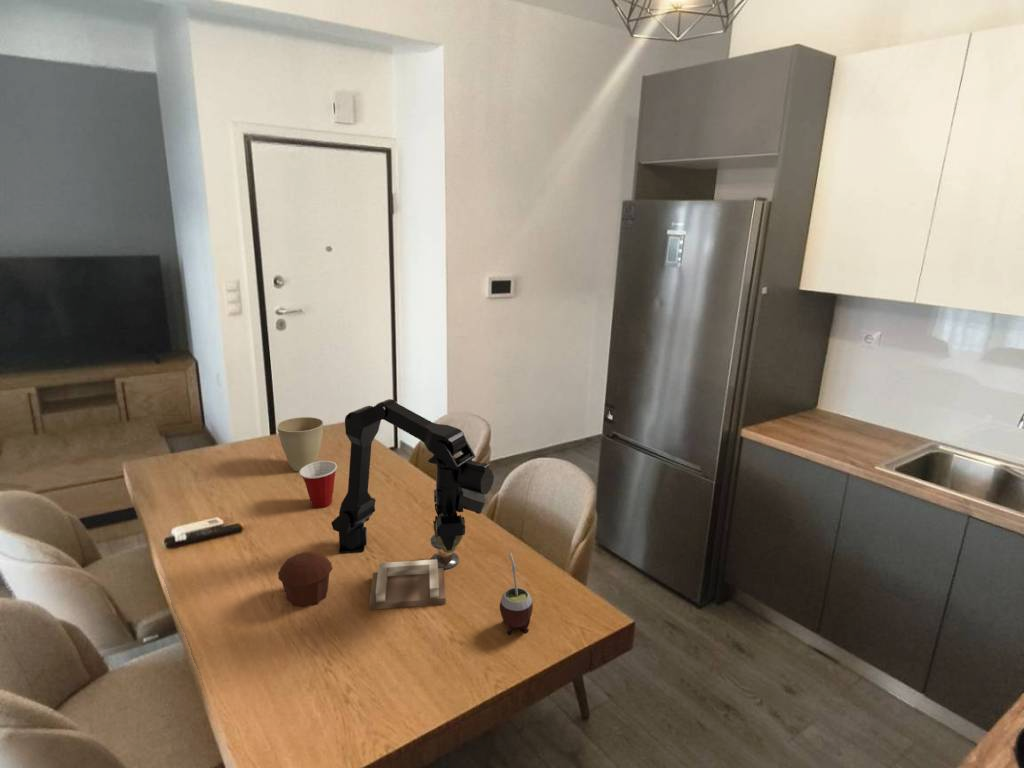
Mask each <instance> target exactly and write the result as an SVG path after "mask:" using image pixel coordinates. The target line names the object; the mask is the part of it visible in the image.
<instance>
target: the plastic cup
mask: <svg viewBox="0 0 1024 768" xmlns="http://www.w3.org/2000/svg"><path fill="white" fill-rule="evenodd" d="M337 468H338V465H337V463H336V462H334V461H330V460H318V461H316V462H313V463H310V464H308V465H306V466H304V467H303V468H301V470H300V471H298V472H299V475H300V476H301V477H302V480H303V481H304V484H305V487H306V490H307V494H308V497H309V500H310V503H311V505H312V507H313V508H314V509H315V508H316V509H323V508H328V507H329V506H330V505H331V504H332V502H333V497H334V494H333V493H334V488H335V478H336V472H337Z"/></svg>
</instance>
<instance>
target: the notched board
mask: <svg viewBox="0 0 1024 768" xmlns="http://www.w3.org/2000/svg"><path fill="white" fill-rule="evenodd" d="M371 578H372V579H371V586H370V593H369V594H370V595H369V601H368V609H369V611H370V610H382V609H396V608H397V609H398V608H407V607H409V608H410V607H419V606H420V607H422V606H423V607H424V606H436V605H446V603H447V602H446V601H447V599H446V585H445V584H446V582H445V569H444V568H438V562H437V559H434V560H431V559H421V560H406V561H391V562H378V570H377V571H375V572H372V577H371Z"/></svg>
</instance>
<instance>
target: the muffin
mask: <svg viewBox="0 0 1024 768" xmlns="http://www.w3.org/2000/svg"><path fill="white" fill-rule="evenodd" d="M332 569H333V565H332V561H330V560H329V558H327V557H326V556H324V555H322V554H321V553H319V552H313V551H306V552H305V551H304V552H300V553H297V554H295V555H293V556H291V557H289V558H287V560H285V562H283V564H282V565H281V566H280V569H279V571H278V572H277V576H278V580H279V581H281V583H282V587H283V590H284V593H285V596H286V600H287V601H288V603H290V604H291V605H292V606H293V607H301V608H307V607H311V606H315V605H319V603H320V602H321V601H323V600H325V599H326V598H327V593H328V590H329V581H330V573H331V572H332Z"/></svg>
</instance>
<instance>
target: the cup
mask: <svg viewBox="0 0 1024 768" xmlns="http://www.w3.org/2000/svg"><path fill="white" fill-rule="evenodd" d="M441 516H442V514H441V513H440V514H439V515H435V516H434V520H432V524H433V531H434V534H435V538H436V541H437V543H438V544H439V545H440V546H441V549H442V551H444V552H446V553H451V552H453V553H455V551H457V550H456V549H457V546H458V545H459V544H460V543H461V541H462V540H463V536H464V535H462V536H456V537H455V541H454V544H453V547H452V550H450V551H447V550H446V547H445V545H444V543H443V541H442V539H441V538H440V537H439V536H437V529H436V520H437V519H438V518H439V517H441ZM445 516H447V514H446V515H445ZM452 516H453V514H452ZM459 516H461V517H462V518H463V519H464V522H465V523H466V520H465V517H464V516H462V514H459Z"/></svg>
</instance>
